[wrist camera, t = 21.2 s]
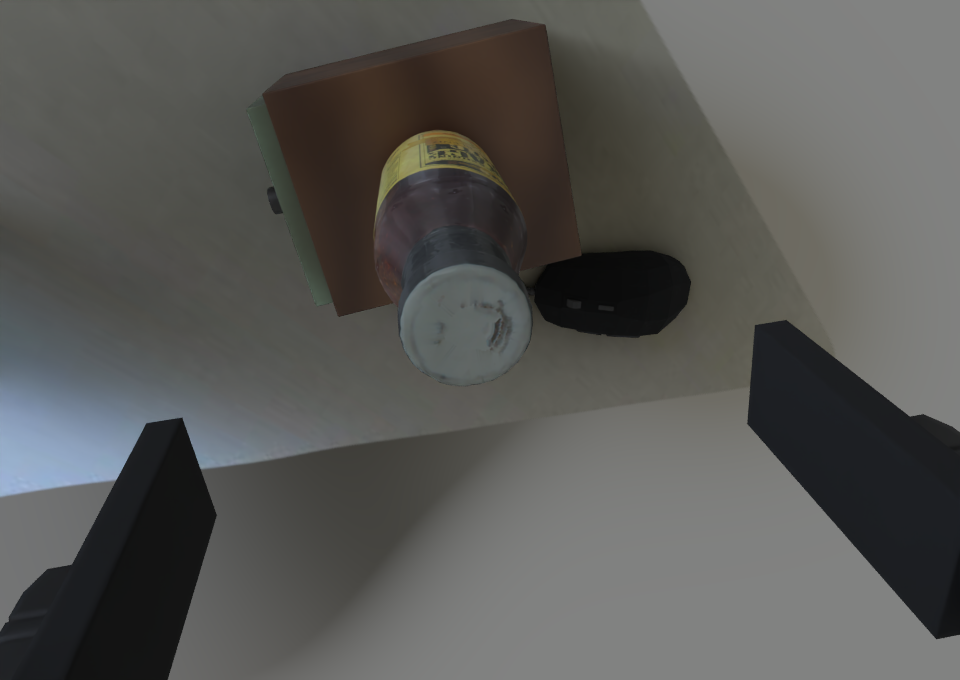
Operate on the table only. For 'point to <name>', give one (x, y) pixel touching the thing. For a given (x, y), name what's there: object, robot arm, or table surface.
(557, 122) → the cabinet
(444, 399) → the table surface
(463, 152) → the sauce bottle
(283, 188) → the drawer
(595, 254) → the gaming mouse
